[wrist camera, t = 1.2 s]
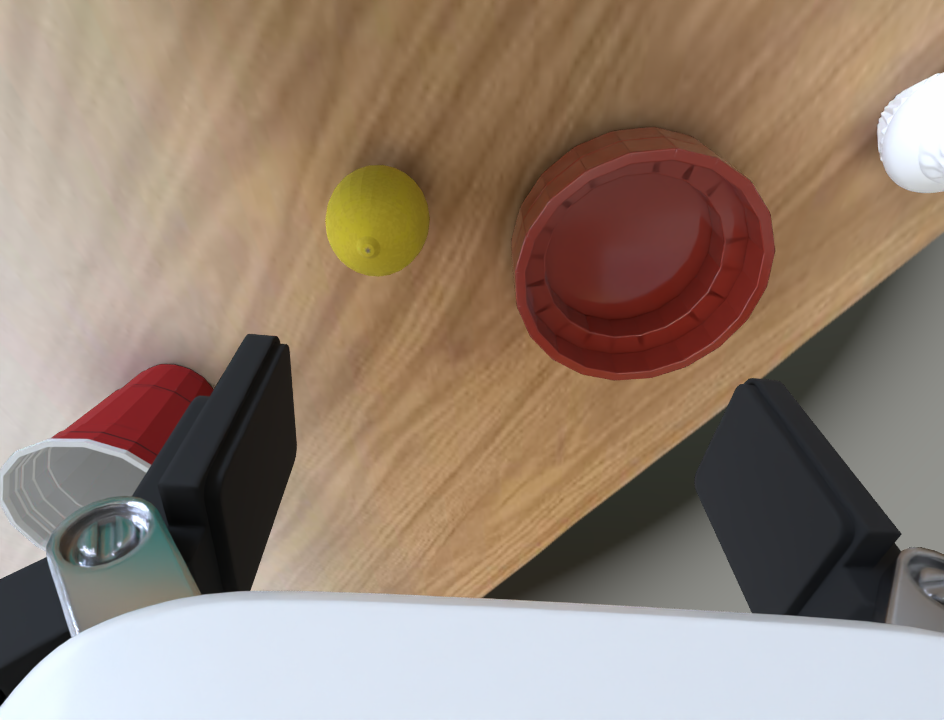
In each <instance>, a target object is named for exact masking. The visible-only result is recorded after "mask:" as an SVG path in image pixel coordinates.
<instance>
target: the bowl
mask: <svg viewBox="0 0 944 720" xmlns="http://www.w3.org/2000/svg"><path fill="white" fill-rule="evenodd" d="M511 251H512V268H513V279H514V287H515V296H516V304H517V308H518V310H519V313H520V315H521V317H522V319H523V322H524V324H525V326H526V328H527V331H528V333H529V335H530V337H531V338H532V339H533V340H534V341H535V342H536V343H537V344H538V345H539V346H540V347H541V348H542V349H543V350H544V351H545V352H546V353H547V354H548V355H549V356H550V357H551V358H552V359H553V360H555V361H557V362H559V363H561V364H563V365H565V366H567V367H568V368H570V369H572V370H574V371H576V372H578V373H580V374H583V375H588V376H593V377H599V378H604V379H609V380H629V379H644V378H653V377H656V376H659V375H662V374H665V373H669V372H672V371H675V370H678V369H681V368H684V367H686V366H689V365H690V364H692V363H694V362H695V361H697V360H699V359H700V358H702V357H704V356H705V355H707V354H709V353H711V352H712V351H714V350H716V349H717V348H719V347H720V346H721V345H722V344H723V343H724V342H725V341H726V340H727V339H728V338H729V337H730V336H731V335H732V334H733V333H735V332H736V331H737V330H738V329H739V328H740V327H741V326H742V325H743V324H744V323H745V322H746V321H747V320H748V318H749V316H750V315H751V313H752V311H753V310H754V308H755V306H756V305H757V303H758V301H759V300H760V298H761V296H762V294H763V293H764V291H765V289H766V287H767V284H768V280H769V276H770V271H771V267H772V263H773V258H774V254H775V245H774V237H773V229H772V222H771V215H770V212H769V210H768V208H767V207H766V205H765V203H764V202H763V200H762V198H761V197H760V195H759V193H758V192H757V190H756V188H755V187H754V185H753V183H752V182H751V181H750V180H749V179H748V178H747V177H745V176H744V175H743V174H742V173H740V172H739V171H738V170H737V169H735V168H734V167H733V166H732V165H730V164H729V163H728V162H727V161H725V160H724V159H723V158H722V157H720V156H719V155H718V154H716V153H715V152H713V151H712V150H711V149H709V148H708V147H706V146H705V145H704V144H702V143H701V142H699V141H698V140H697V139H695V138H694V137H692V136H689V135H685V134H681V133H677V132H673V131H669V130H665V129H661V128H657V127H646V128H636V129H625V130H615V131H611V132H609V133H606V134H604V135H601V136H599V137H597V138H594V139H592V140H590V141H587V142H585V143H583V144H580V145H578V146H576V147H574V148H572V149H571V150H570V151H569V152H568V153H566V154H565V155H564V156H563V157H562V158H560V159H559V160H558V161H557V162H556V163H554V164H553V165H552V166H551V167H550V168H548V169H547V170H546V171H545V172H544V173H543V174H542V175H541V176H540V178H539V179H538V181H537V182H536V184H535V185H534V187H533V188H532V190H531V191H530V193H529V194H528V196H527V197H526V199H525V200H524V202H523V203H522V205H521V207H520V210H519V214H518V217H517V221H516V224H515V228H514V231H513V235H512V239H511Z"/></svg>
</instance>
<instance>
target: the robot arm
mask: <svg viewBox="0 0 944 720" xmlns="http://www.w3.org/2000/svg"><path fill="white" fill-rule="evenodd" d="M296 450H297V441H296V428H295V415H294V402H293V389H292V376H291V363H290V351H289V346H288V345H287V344H280V340H279V338H278V337H277V336H268V335H256V334H247V335H246V337H245V338H244V340H243V342H242V343H241V345H240V347H239V348H238V350H237V352H236V353H235V355H234V357H233V358H232V360H231V362H230V363H229V365H228V367H227V368H226V370H225V372H224V373H223V375H222V377H221V378H220V380H219V382H218V383H217V385H216V387H215V388H214V390H213V392H212V393H211V395H210V396H200V395H199V396H197V397H195V398H194V399H193V401H192V402H191V403H190V405H189V406H188V408H187V409H186V411H185V413H184V414H183V416H182V417H181V419H180V420H179V422H178V424H177V425H176V427H175V428H174V430H173V432H172V433H171V435H170V436H169V438H168V439H167V441H166V443H165V444H164V446H163V447H162V449H161V451H160V452H159V454H158V455H157V457H156V458H155V460H154V462H153V463H152V465H151V466H150V468H149V470H148V471H147V473H146V474H145V476H144V477H143V479H142V481H141V482H140V484H139V485H138V487H137V489H136V490H135V492H134V493H133V495H132V496H118V497H109V498H105V499H102V500H98V501H95V502H92V503H90V504H88V505H86V506H84V507H82V508H80V509H78V510H76V511H74V512H73V513H72V514H70V515H69V516H68V517H66V518H65V519H64V520H62V521H61V523H60V524H59V525H58V526H57V527H56V529H55V530H54V531H53V532H52V533H51V536H50V538H49V541H48V543H47V545H46V555H47V557H46V558H44V559H42V560H39V561H37V562H35V563H33V564H31V565H29V566H27V567H25V568H23V569H21V570H19V571H16V572H14V573H12V574H10V575H8V576H6V577H4V578H2V579H0V720H944V554H942V553H939V552H937V551H934V550H930V549H926V548H922V547H909V548H907V549H905V550H903V551H900V550H899V548H898V547H897V546H896V544H895V541H896V540H897V539H898V538H899V537H900V535H901V533H900V531H898V529H897V528H896V526H895V525H894V524H893V523H892V521H891V520H890V519H889V518H888V516H887V515H886V514H885V513H884V511H883V510H882V509H881V507H880V506H879V505H878V504H877V502H876V501H875V500H874V499H873V497H872V496H871V495H870V494H869V492H868V491H867V490H866V488H865V487H864V486H863V485H862V484H861V482H860V481H859V480H858V478H857V477H856V476H855V475H854V473H853V472H852V471H851V470H850V468H849V467H848V466H847V464H846V463H845V462H844V461H843V459H842V458H841V457H840V456H839V454H838V453H837V452H836V451H835V449H834V448H833V447H832V446H831V444H830V443H829V442H828V440H827V439H826V438H825V437H824V435H823V434H822V433H821V432H820V430H819V429H818V428H817V426H816V425H815V424H814V423H813V421H812V420H811V419H810V418H809V416H808V415H807V414H806V413H805V411H804V410H803V409H802V408H801V406H800V405H799V404H798V403H797V401H796V400H795V399H794V398H793V396H792V395H791V394H790V392H789V391H788V390H787V389H786V387H785V386H784V385H783V384H782V383H781V382H780V381H777V380H767V379H756V378H751V379H748V380H747V381H746V382H745V383H744V384H740V385H739V386H737V388H736V389H735V391H734V393H733V396H732V398H731V400H730V402H729V404H728V406H727V408H726V410H725V412H724V415H723V417H722V419H721V421H720V423H719V425H718V427H717V429H716V432H715V434H714V436H713V438H712V440H711V442H710V444H709V446H708V448H707V451H706V453H705V455H704V457H703V459H702V461H701V463H700V465H699V467H698V470H697V472H696V475H695V480H694V481H695V482H694V484H695V489H696V492H697V494H698V496H699V498H700V501H701V503H702V505H703V507H704V509H705V511H706V513H707V516H708V518H709V520H710V522H711V524H712V527H713V529H714V531H715V533H716V536H717V538H718V540H719V542H720V544H721V546H722V549H723V551H724V553H725V555H726V557H727V560H728V562H729V564H730V566H731V568H732V570H733V572H734V575H735V577H736V579H737V581H738V584H739V586H740V588H741V590H742V592H743V594H744V596H745V599H746V601H747V603H748V605H749V608H750V609H751V612H752V613H739V612H723V611H705V610H689V609H673V608H654V607H636V606H618V605H600V604H581V603H562V602H542V601H524V600H505V599H484V598H463V597H442V596H421V595H401V594H380V593H350V592H318V591H250V590H251V587H252V585H253V582H254V579H255V576H256V573H257V570H258V567H259V564H260V561H261V558H262V555H263V552H264V549H265V546H266V544H267V541H268V538H269V535H270V532H271V529H272V526H273V523H274V520H275V517H276V514H277V511H278V508H279V505H280V503H281V500H282V497H283V494H284V491H285V488H286V485H287V482H288V479H289V476H290V473H291V470H292V467H293V465H294V461H295V457H296Z"/></svg>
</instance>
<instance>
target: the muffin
mask: <svg viewBox="0 0 944 720" xmlns="http://www.w3.org/2000/svg"><path fill="white" fill-rule="evenodd" d="M877 128H878V130H877V137H878V151H879V152H880V160H881V161H883V165H884V168H885V170H886V172H887V174H888V175H889V177H890V178H891V179H892V180H893V181H894V182H895V183H896V184H897V185H899V186H900V187H902V188H904V189H906V190H909V191H913V192H919V193H935V192H942V191H944V72H943V73H941V74H940V73H937V74H935V75H933V76H931V77H929V78H927V79H925V80H923V81H921V82H919V83H917V84H915V85H913V86H911V87H909V88H908V89H906V90H904V91H902V92H901V93H900V94H898V95H896V97H895V98H894V100H892V101H890V102H889V104H888V106H886V107H885V108H884V112H882V113H881V117H880V118H879V124H878V125H877Z"/></svg>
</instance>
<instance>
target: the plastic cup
mask: <svg viewBox="0 0 944 720" xmlns="http://www.w3.org/2000/svg"><path fill="white" fill-rule="evenodd" d="M212 392H213V388H212V387H211V386H210V385H209V383H208V382H207V381H206V380H205V378H203V377H202V376H200V375H199V374H197V373H196V372H194V371H192V370H191V369H188V368H185V367H182V366H178V365H171V364H160V365H157V366H154V367H151V368H149V369H147V370H146V371H143V372H141V373H140V374H139V375H137V376H136V377H135V378H134V379H132V380H131V381H130V382H129V383H127V384H126V385H125V386H124V387H123V388H121V389H119V390H116V391H115V392H114V393H112V394H111V395H110V396H108V397H107V398H106V399H105V400H103V401H102V402H101V403H99V404H98V405H97V406H95V407H94V408H93V409H91V410H90V411H89V412H87V413H86V414H85V415H84V416H82V417H81V418H80V419H78V420H77V421H76V422H74V423H73V424H72V425H70V426H69V427H68V428H67V429H65V430H64V431H61V432H59V433H57V434H56V435H55V436H53V437H52V438H50V439H47V440H45V441H42V442H39V443H36V444H34V445H31V446H28V447H25V448H23V449H20V450H18V451H16V452H14V453H13V454H12V455H11V456H10V458H9V459H8V460H7V461H6V462H5V464H4V465H3V466H2V467H1V469H0V506H1V507H2V509H3V511H4V513H5V515H6V516H7V518H8V520H9V522H10V524H11V525H12V526H13V527H15V528H16V529H17V530H18V531H19V532H20V533H21V534H23V535H24V536H25V537H26V538H27V539H28V540H29V541H31V542H32V543H33V544H34V545H35V546H36V547H38V548H40V549H42V550H44V551H46V545H47V543H48V541H49V538H50V536H51V533H52V532H53V531H54V530H55V529H56V527H57V526H58V525H59V524H60V523H61V521H62V520H64V519H65V518H66V517H68V516H69V515H70V514H72V513H73V512H74V511H76V510H78V509H80V508H82V507H84V506H86V505H88V504H90V503H92V502H95V501H98V500H102V499H105V498H109V497H118V496H132V495H133V493H134V492H135V490H136V489H137V487H138V485H139V484H140V482H141V481H142V479H143V477H144V476H145V474H146V473H147V471H148V470H149V468H150V466H151V465H152V463H153V462H154V460H155V458H156V457H157V455H158V454H159V452H160V451H161V449H162V447H163V446H164V444H165V443H166V441H167V439H168V438H169V436H170V435H171V433H172V432H173V430H174V428H175V427H176V425H177V424H178V422H179V420H180V419H181V417H182V416H183V414H184V413H185V411H186V409H187V408H188V406H189V405H190V403H191V402H192V401H193V399H194V398H195V397H197V396H199V395H200V396H210V395H211V393H212Z"/></svg>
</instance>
